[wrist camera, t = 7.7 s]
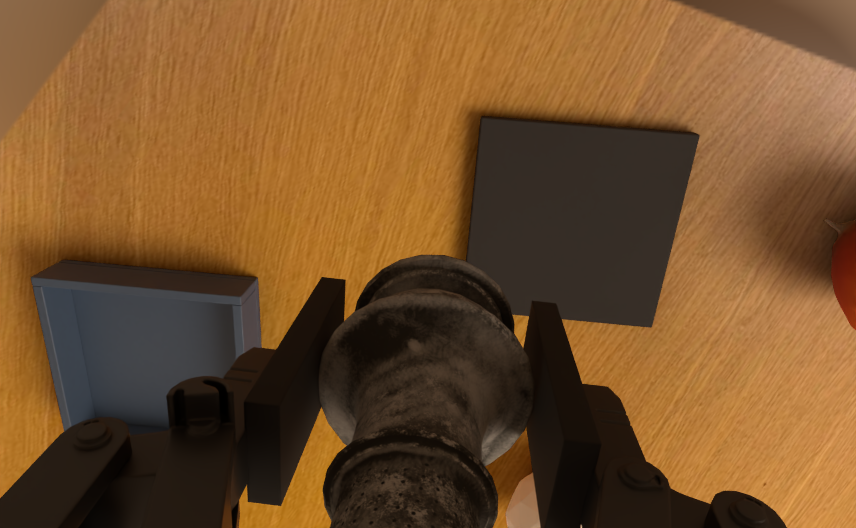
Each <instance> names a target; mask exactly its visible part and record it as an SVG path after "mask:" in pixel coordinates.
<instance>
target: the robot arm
mask: <svg viewBox="0 0 856 528" xmlns="http://www.w3.org/2000/svg"><path fill="white" fill-rule="evenodd" d="M344 308H345V280H343V279H334V278H325V277H322V278H321V279H320V281H319V282H318V284H317V286H316V287H315V289H314V290H313V292H312V294H311V295H310V297H309V298H308V300H307V302H306V303H305V305H304V306H303V308H302V310H301V311H300V313H299V314H298V316H297V317H296V319H295V321H294V322H293V324H292V325H291V327H290V329H289V330H288V332H287V333H286V335H285V337H284V338H283V340H282V341H281V343H280V345H279V346H278V348H277V349H276V350H274V349H266V348H257V347H253V348H251V349H250V350H248V351H246V352H245V353H243V354H242V355H240V356H239V357H238V358H237V359H236V361H235V362H234V363H233V365H232V366H231V367H230V370H228V372H227V373H226V374H225V376H224V378H223V379H222V378H219V377H215V376H201V377H194V378H190V379H187V380H185V381H182V382H180V383H178V384H177V385H175V386H174V387H172V388H171V389H170V391H169V392H168V394H167V395H166V399H167V409H168V418H169V427H170V428H169V430H166V431H161V432H155V433H146V434H136V435H130V434H129V429H128V425H127V424H126V423H125V422H124V421H122V420H121V419H117V418H112V417H99V418H93V419H89V420H85V421H82V422H80V423H78V424H76V425H74V426H71V427H70V428H68V429H67V430H66V431H65V432H63V433H62V434H61V435H60V436H59V437H58V438H57V439H56V440H55V441H54V442H53V443H52V444H51V445H50V446H49V447H48V448H47V449H46V450H45V452H44V453H43V454H42V455H41V456H40V457H39V458H38V459H37V460H36V461H35V462H34V463H33V464H32V465H31V466H30V467H29V469H28V470H27V471H26V472H25V473H24V474H23V475H22V476H21V477H20V478H19V479H18V480H17V481H16V482H15V483H14V484H13V486H12V487H11V488H10V489H9V490H8V491H7V492H6V493H5V494H4V495H3V496H2V497H1V498H0V528H239V518H240V508H239V499H240V497H241V495H242V493H243V491H244V489H245V487H246V485H247V493H248V502H254V503H262V504H270V505H278V506H281V504H282V502H283V500H284V497H285V495H286V492H287V490H288V487H289V485H290V482H291V480H292V477H293V475H294V473H295V470H296V468H297V465H298V463H299V460H300V458H301V455H302V453H303V451H304V448H305V446H306V443H307V441H308V438H309V436H310V433H311V431H312V428H313V426H314V424H315V421H316V419H317V416H318V414H319V411H320V409H321V404H320V401H319V365H320V361H321V356H322V352H323V351H324V349H325V347H326V345H327V344H328V342H329V340H330V338H331V336H332V335H333V333H334V331H335V330H336V329H337V328H338V327H339V326H340V325H341V324H342V323H343V322H344ZM523 349H524V351H525V352H526V354H527V356H528V358H529V362H530V366H531V370H532V374H533V378H534V382H535V390H534V404H533V410H532V413H531V415H530V418H529V420H528V423H527V425H526V428H527V435H528V442H529V449H530V456H531V463H532V470H533V477H534V484H535V492H536V499H537V506H538V513H539V520H540V527H541V528H580V527H581V525H582V528H787V527H786V525H785V524H784V522H783V521H782V519H781V518H780V517H779V516H778V514H777V513H776V512H775V511H774V510H773V509H771V508H770V507H769V506H768V505H766V504H765V503H764V502H762V501H760V500H758V499H756V498H754V497H752V496H750V495H748V494H744V493H741V492H737V491H722V492H720V493H717V494H715V496H714V498H713V500H712V502H711V504H709V503H706V502H703V501H700V500H697V499H694V498H692V497H689V496H686V495H683V494H681V493H679V492H676V491H675V490H673V489H671V488H670V486H669V483H668V479H667V478H666V477H665V476H664V475H663V473H662V472H661V471H660V470H659V469H657V468H656V467H655V466H653V465H652V464H650V463H648V462H646V460H645V457H644V455H643V453H642V450H641V448H640V445H639V443H638V441H637V438H636V436H635V433H634V431H633V428H632V426H630V421H629V419H628V416H627V415H626V412H625V409H624V407H623V404H622V402H621V400H620V398H619V397H618V396H617V395H616V394H615V393H614V392H613V391H612V390H611V389H610V388H608V387H605V386H597V385H588V384H582V382H581V378H580V375H579V372H578V369H577V366H576V363H575V360H574V357H573V354H572V351H571V347H570V344H569V341H568V338H567V335H566V332H565V329H564V326H563V323H562V320H561V316H560V313H559V310H558V307H557V304H556V303H550V302H541V301H532V303H531V309H530V314H529V320H528V326H527V331H526V337H525V343H524V348H523Z"/></svg>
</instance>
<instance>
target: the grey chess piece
mask: <svg viewBox="0 0 856 528" xmlns="http://www.w3.org/2000/svg"><path fill="white" fill-rule="evenodd" d="M534 390H535V382H534V378H533V374H532V370H531V366H530V362H529V358H528V356H527V354H526V352H525V351H524V349H523V347H522V346H521V344H520V342H519V341H518V339H517V337H516V336H515V334H514V320H513V316H512V311H511V307H510V303H509V302H508V300H507V298H506V297H505V295H504V293H503V292H502V290H501V288H500V286H499V285H498V284H497V283H496V282H495V281H494V280H492V279H491V278H490V277H489V276H488V275H487V274H486V273H485V272H484V271H482V270H481V269H479V268H477V267H475V266H473V265H472V264H470V263H468V262H466V261H464V260H460V259H456V258H453V257H449V256H445V255H418V256H414V257H410V258H406V259H401V260H399V261H397V262H395V263H393V264H391V265H390V266H388V267H386V268H384V269H382V270H381V271H380V272H379V273H378V274H377V275H376V276H375V277H374V278H373V279H372V280H370V281H369V282H368V283H367V285H366V287H365V288H364V290H363V292H362V294H361V295H360V297H359V299H358V301H357V304H356V309H355V312H354V313H353V314H352V315H351V316H349V317H348V318H347V319H346V320H345V321H344V322H343V323H342V324H341V325H340V326H339V327H338V328H337V329H336V330H335V331H334V333H333V335H332V336H331V338H330V340H329V342H328V344H327V345H326V347H325V349H324V351H323V352H322V356H321V361H320V365H319V401H320V404H321V406H322V409H323V411H324V413H325V416H326V418H327V421H328V423H329V424H330V426H331V427H332V428H333V430H334V431H335V432H336V434H337V435H338V436H339V438H340V439H341V440H342V442H343V443H344V444H346V445H347V446H346V447H345V448H344V449H343V450H341V451H340V452H339V453H338V454H337V455H336V457H335V458H334V460H333V461H332V463H331V464H330V466H329V468H328V469H327V473H326V477H325V481H324V485H323V496H324V505H325V508H326V510H327V512H328V515H329V517H330V519H331V521H332V522H331V526H330V528H493V525H494V523H495V521H496V518H497V514H498V494H497V491H496V487H495V484H494V481H493V478H492V476H491V475H490V473H489V472H488V470H487V469H486V467H485V466H486V465H489V464H490V463H491V462H493V461H494V460H496V459H497V458H498V457H500V456H501V455H503V454H504V453H505V452H507V451H508V450H509V449H510V448H511V447H512V445H513V444H514V443H515V442H516V440H517V439H518V438H519V437H520V435H521V434H522V433H523V432H524V430H525V428H526V425H527V423H528V420H529V418H530V415H531V413H532V410H533V404H534Z"/></svg>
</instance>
